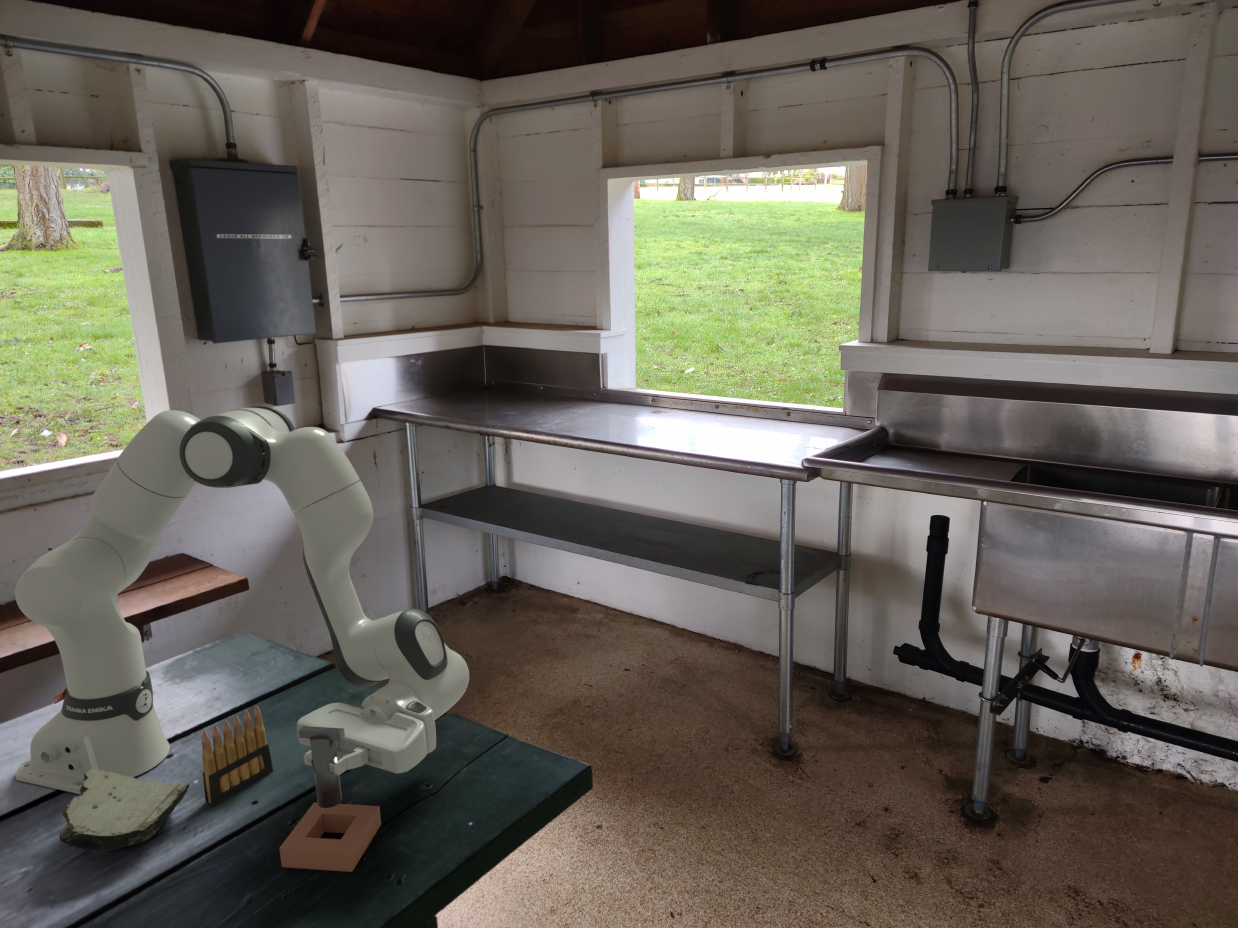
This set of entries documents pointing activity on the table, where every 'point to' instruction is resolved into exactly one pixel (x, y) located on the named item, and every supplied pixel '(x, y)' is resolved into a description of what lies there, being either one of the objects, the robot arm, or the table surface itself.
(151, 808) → the concrete fragment
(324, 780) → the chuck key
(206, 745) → the ammunition clip
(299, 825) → the orange square frame
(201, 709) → the table surface
